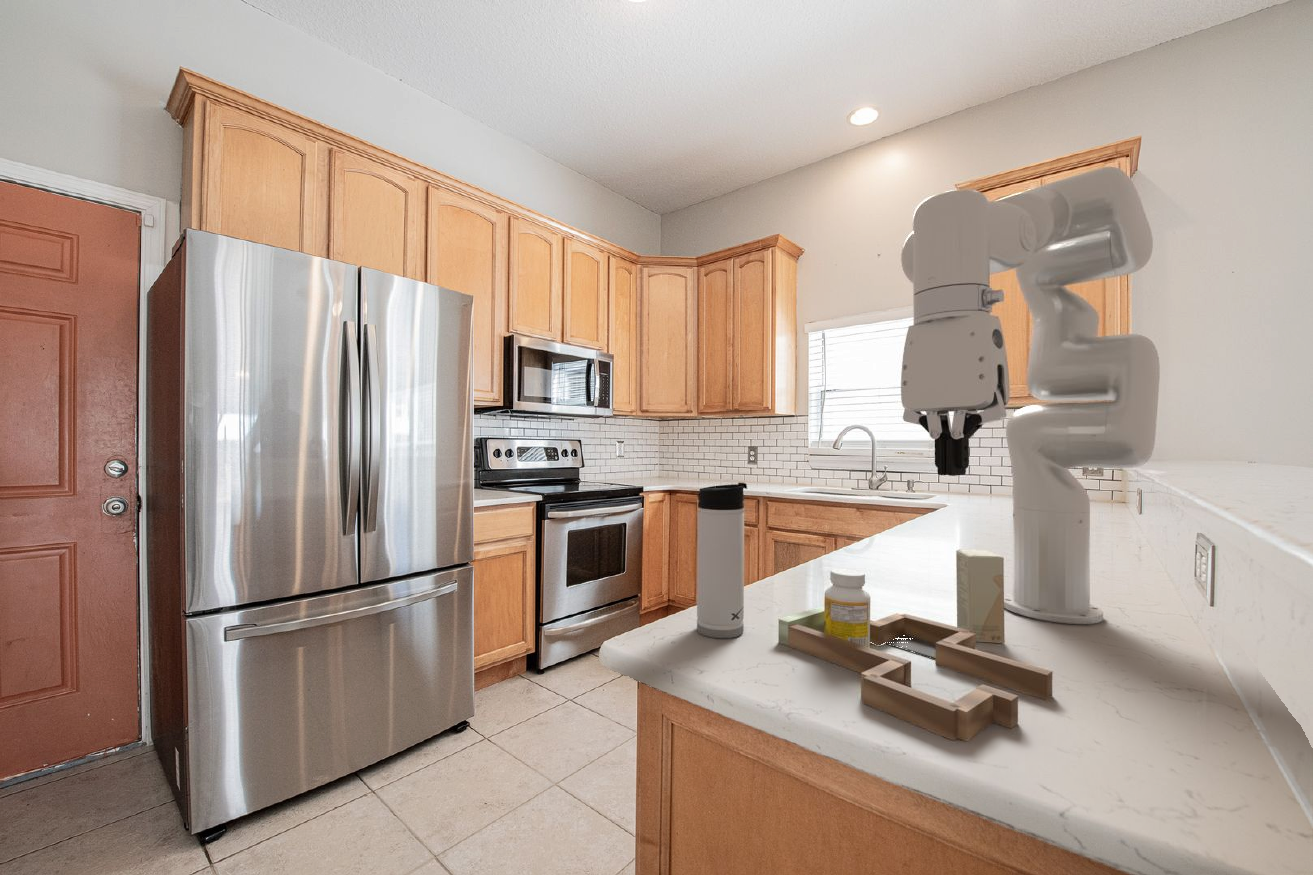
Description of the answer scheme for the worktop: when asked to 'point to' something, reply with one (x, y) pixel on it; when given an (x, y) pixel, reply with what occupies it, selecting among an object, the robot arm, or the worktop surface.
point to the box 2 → (980, 594)
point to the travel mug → (720, 561)
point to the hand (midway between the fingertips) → (951, 474)
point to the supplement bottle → (847, 607)
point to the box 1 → (892, 674)
